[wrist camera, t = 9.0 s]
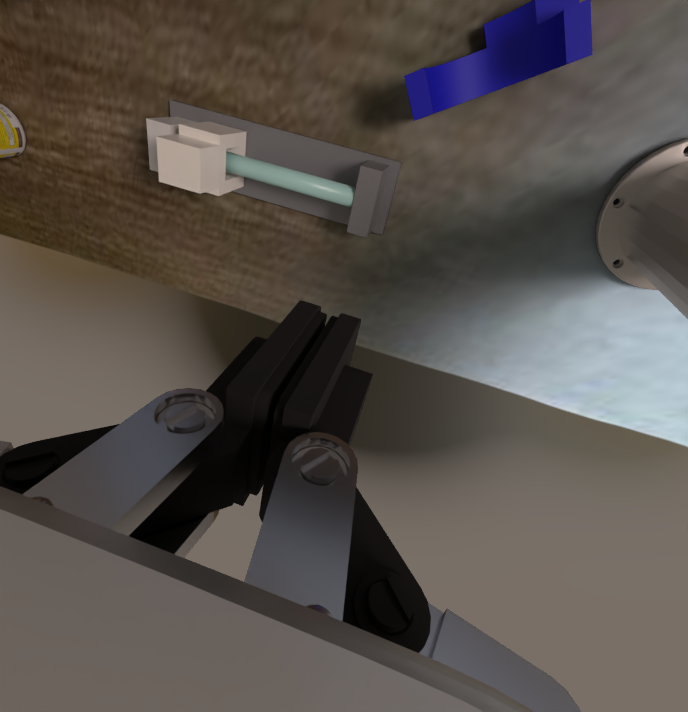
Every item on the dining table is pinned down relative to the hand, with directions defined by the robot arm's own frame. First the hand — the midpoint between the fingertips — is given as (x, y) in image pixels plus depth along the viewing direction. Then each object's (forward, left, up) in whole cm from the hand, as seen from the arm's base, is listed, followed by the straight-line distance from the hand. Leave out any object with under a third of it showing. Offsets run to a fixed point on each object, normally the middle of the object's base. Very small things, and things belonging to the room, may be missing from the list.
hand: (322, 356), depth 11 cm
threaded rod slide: (+15, +3, -33) cm, 36 cm away
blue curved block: (-2, -9, -34) cm, 35 cm away
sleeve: (+20, +3, -32) cm, 38 cm away
